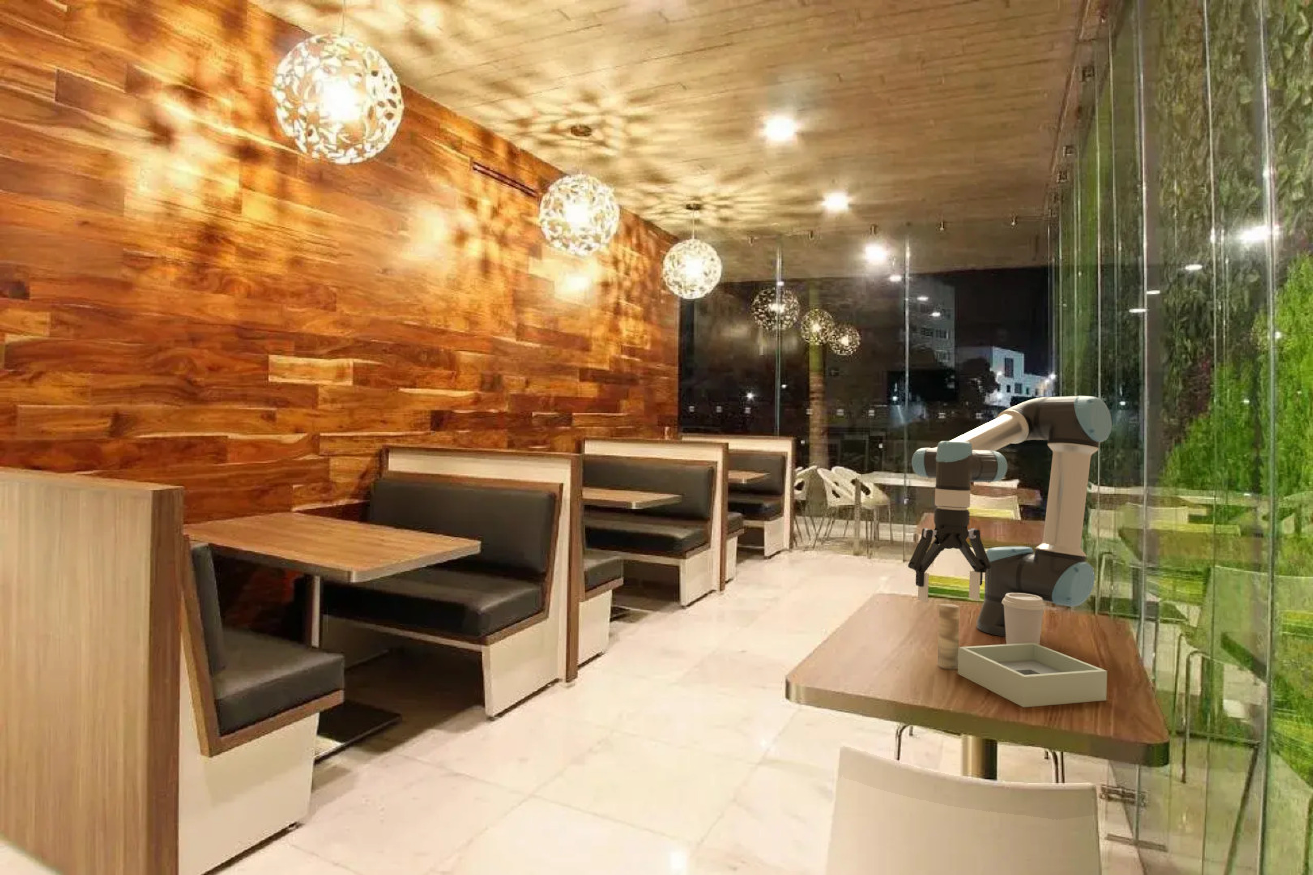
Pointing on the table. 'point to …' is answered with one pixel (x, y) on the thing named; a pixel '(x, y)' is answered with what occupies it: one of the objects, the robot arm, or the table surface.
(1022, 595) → the coffee cup
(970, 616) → the table surface
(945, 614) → the peg
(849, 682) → the table surface
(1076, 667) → the grey-green open tray
